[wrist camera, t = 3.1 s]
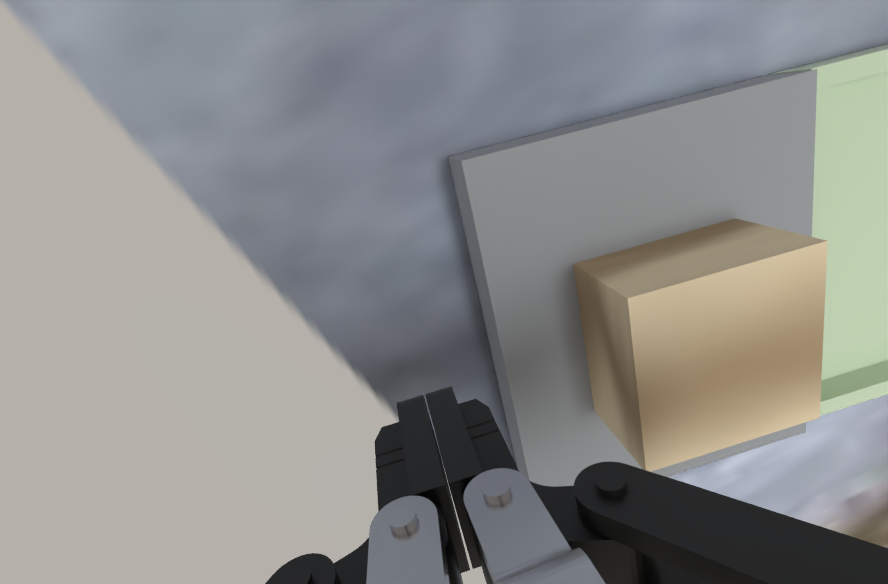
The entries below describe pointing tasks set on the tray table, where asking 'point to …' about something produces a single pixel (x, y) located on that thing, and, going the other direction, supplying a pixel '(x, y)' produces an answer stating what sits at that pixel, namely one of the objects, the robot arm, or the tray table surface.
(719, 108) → the plate
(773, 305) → the tan square block
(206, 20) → the tray table surface
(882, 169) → the box
